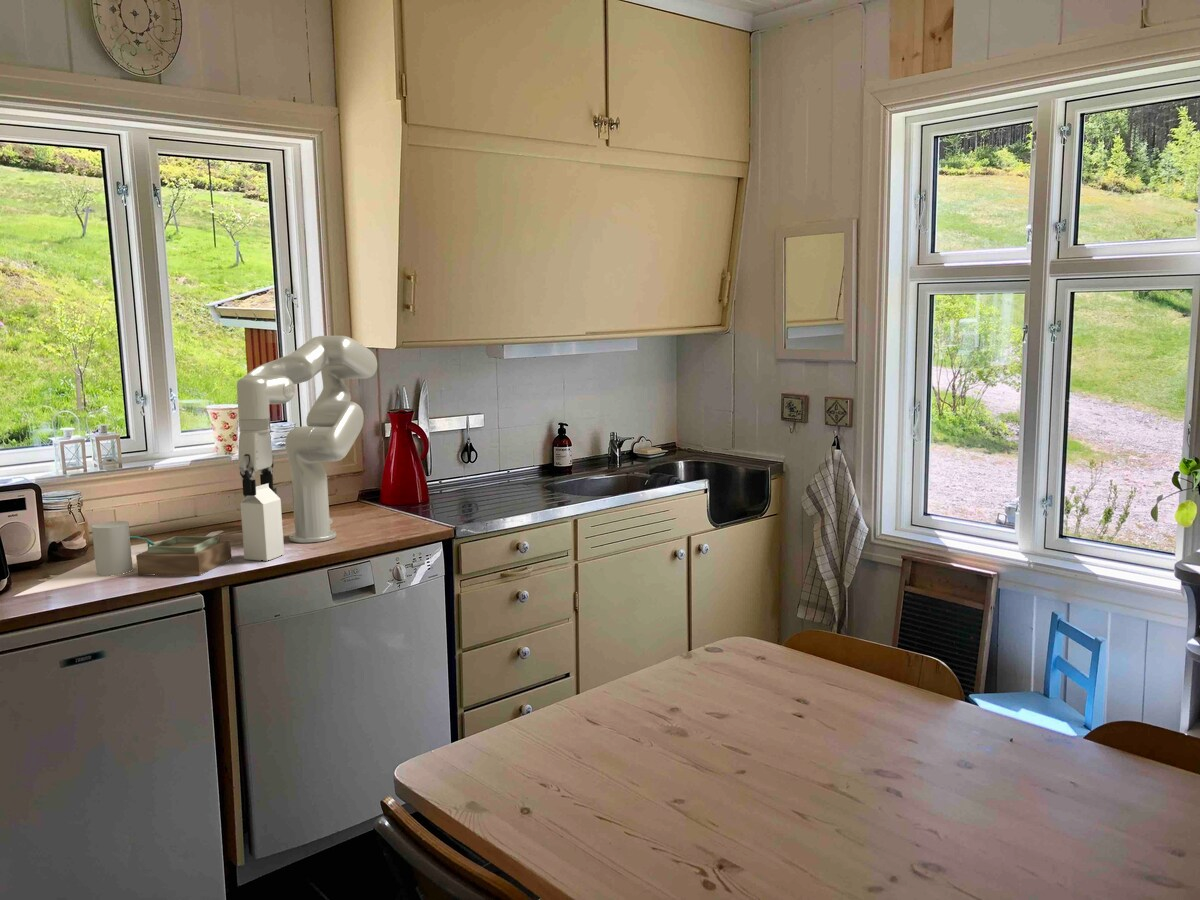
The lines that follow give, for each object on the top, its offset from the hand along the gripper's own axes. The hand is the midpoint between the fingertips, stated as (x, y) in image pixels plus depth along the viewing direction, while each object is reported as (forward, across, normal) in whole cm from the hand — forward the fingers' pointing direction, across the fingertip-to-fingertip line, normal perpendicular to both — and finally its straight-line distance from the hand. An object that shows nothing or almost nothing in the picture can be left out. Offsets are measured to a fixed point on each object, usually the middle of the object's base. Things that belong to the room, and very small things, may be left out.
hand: (258, 492), depth 251 cm
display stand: (+18, +9, -16) cm, 25 cm away
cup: (+18, +14, -32) cm, 39 cm away
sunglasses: (+18, +1, -36) cm, 40 cm away
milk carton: (+18, -1, 0) cm, 18 cm away
